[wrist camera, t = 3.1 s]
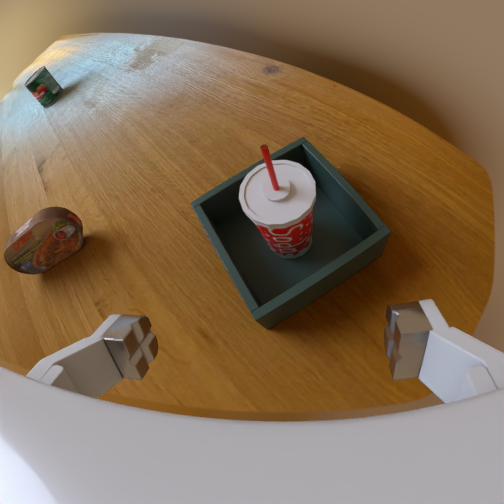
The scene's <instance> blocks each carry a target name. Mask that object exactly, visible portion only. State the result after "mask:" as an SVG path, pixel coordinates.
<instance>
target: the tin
mask: <svg viewBox="0 0 504 504" xmlns="http://www.w3.org/2000/svg"><path fill="white" fill-rule="evenodd" d="M82 244H83V226H82V222H81V220H80V219H79V218H78V216H77V215H75V214H74V213H73V212H71V211H69V210H68V209H66V208H62V207H49V208H45V209H43V210H41V211H39V212H38V213H36V214H35V215H34V216H33V217H32V218H30V219H29V220H28V221H27V222H25V223H24V224H23V225H22V226H21V227H20V228H18V229H17V230H16V231H15V232H14V233H13V234H11V235H10V237H9V238H8V240H7V244H6V250H5V253H4V258H5V261H6V263H7V264H8V265H9V266H10V267H11V268H12V269H14V270H16V271H18V272H20V273H24V274H40V273H43V272H45V271H47V270H48V269H50V268H51V267H53V266H55V265H56V264H58V263H59V262H61V261H62V260H64V259H66V258H67V257H69V256H70V255H72V254H74V253H75V252H77V251H78V250H79V249H80V248H81V246H82Z"/></svg>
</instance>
